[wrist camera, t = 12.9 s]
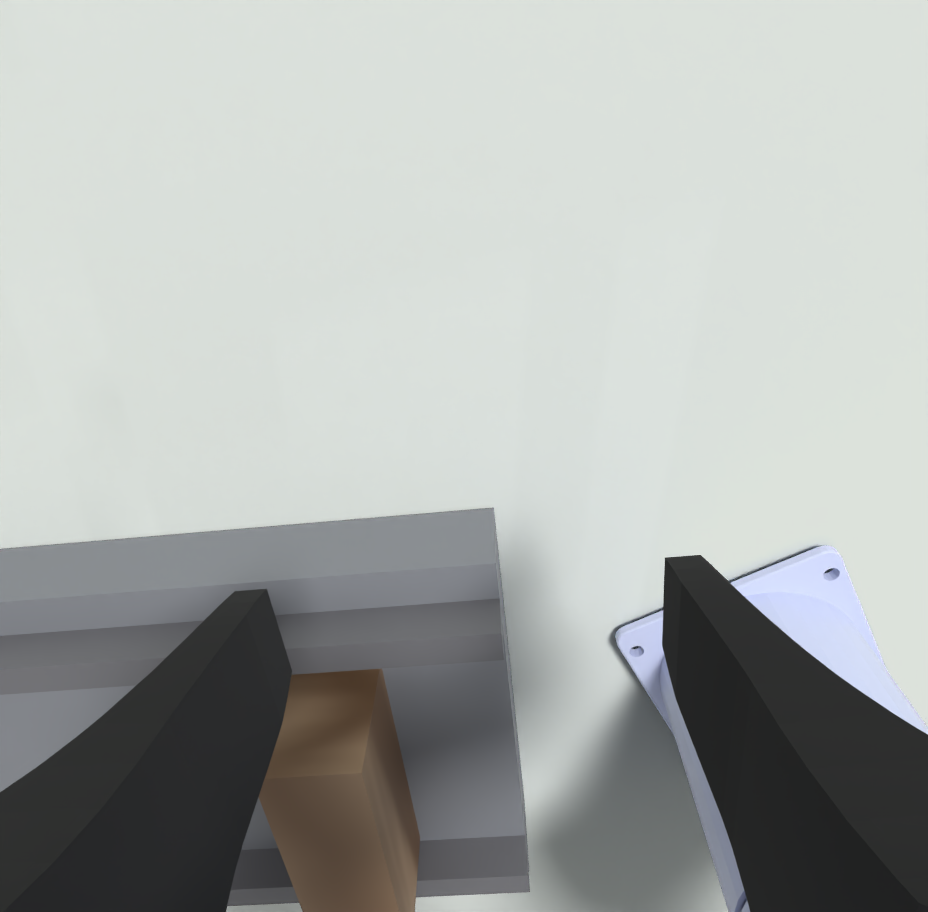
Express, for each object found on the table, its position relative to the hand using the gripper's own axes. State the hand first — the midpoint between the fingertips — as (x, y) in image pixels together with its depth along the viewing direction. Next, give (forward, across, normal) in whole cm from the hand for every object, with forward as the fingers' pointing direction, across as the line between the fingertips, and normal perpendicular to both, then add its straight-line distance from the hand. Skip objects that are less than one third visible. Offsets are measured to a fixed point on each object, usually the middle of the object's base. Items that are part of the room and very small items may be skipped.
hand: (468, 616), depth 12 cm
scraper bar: (+6, +5, +12) cm, 14 cm away
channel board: (+9, +10, +11) cm, 18 cm away
